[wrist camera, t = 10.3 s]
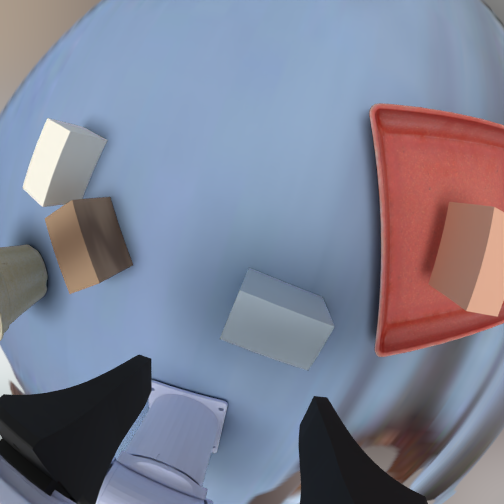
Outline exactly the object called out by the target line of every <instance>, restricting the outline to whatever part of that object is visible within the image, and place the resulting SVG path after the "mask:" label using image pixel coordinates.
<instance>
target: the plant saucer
mask: <svg viewBox="0 0 504 504" xmlns="http://www.w3.org/2000/svg"><path fill="white" fill-rule="evenodd" d="M369 116H370V122H371V128H372V135H373V142H374V149H375V157H376V166H377V175H378V187H379V200H380V220H381V275H380V296H379V311H378V323H377V332H376V340H375V353H376V355H377V356H379V357H386V356H391V355H395V354H400V353H406V352H411V351H414V350H418V349H423V348H427V347H430V346H434V345H439V344H442V343H446V342H448V341H452V340H456V339H460V338H462V337H465V336H469V335H472V334H475V333H478V332H481V331H484V330H486V329H489V328H493V327H495V326H497V325H500V324H503V323H504V301H503V304H502V306H501V309H500V312H499V314H498V317H497V316H491V315H485V314H480V313H474V312H469V311H466V310H464V309H463V308H461V307H460V306H459V305H457V304H456V303H455V302H453V301H452V300H450V299H449V298H447V297H446V296H445V295H443V294H442V293H440V292H439V291H437V290H436V289H435V288H433V287H432V286H430V285H429V284H428V283H429V280H430V277H431V274H432V271H433V268H434V264H435V261H436V257H437V254H438V250H439V246H440V242H441V238H442V234H443V230H444V225H445V221H446V216H447V211H448V206H449V202H456V203H466V204H475V205H483V206H492V207H496V208H497V209H499V210H501V211H503V212H504V125H501V124H498V123H494V122H490V121H487V120H484V119H480V118H475V117H471V116H466V115H462V114H456V113H453V112H446V111H441V110H434V109H427V108H422V107H412V106H404V105H395V104H381V103H379V104H374V105H373V106H372V107H371V109H370V111H369Z"/></svg>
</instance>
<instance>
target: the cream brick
mask: <svg viewBox="0 0 504 504" xmlns="http://www.w3.org/2000/svg"><path fill="white" fill-rule="evenodd" d="M106 142H107V140H106V139H104V138H103V137H101V136H99V135H97V134H95V133H93V132H92V131H90V130H88V129H86V128H84V127H81V126H77V125H73V124H69V123H66V122H61V121H57V120H53V119H49V118H47V121H46V123H45V125H44V128H43V130H42V132H41V135H40V137H39V140H38V142H37V145H36V148H35V150H34V153H33V156H32V159H31V162H30V165H29V168H28V171H27V174H26V177H25V181H24V184H23V189H24V190H25V191H26V192H27V193H28V194H29V195H30V196H31V197H32V198H34V199H35V200H36V201H37V202H38V203H39V204H40V205H41V206H42V207H46V206H54V205H63V204H67V203H68V202H70V201H71V200H76V199H82V198H83V195H84V193H85V190H86V188H87V185H88V183H89V180H90V178H91V175H92V173H93V171H94V168H95V166H96V164H97V162H98V159H99V157H100V155H101V153H102V151H103V149H104V147H105V145H106Z"/></svg>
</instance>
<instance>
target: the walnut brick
mask: <svg viewBox="0 0 504 504" xmlns="http://www.w3.org/2000/svg"><path fill="white" fill-rule="evenodd" d="M45 221H46V225H47V229H48V232H49V236H50V239H51V243H52V246H53V249H54V252H55V255H56V258H57V261H58V264H59V267H60V270H61V272H62V275H63V278H64V280H65V283H66V286H67V288H68V291H69V293H70V294H71V293H74V292H77V291H79V290H82V289H85V288H87V287H90V286H93V285H96V284H98V283H101V282H102V281H104V280H106V279H108V278H110V277H112V276H114V275H115V274H117V273H119V272H121V271H123V270H125V269H127V268H129V267H130V266H132V265H133V263H132V260H131V258H130V255H129V252H128V250H127V247H126V244H125V241H124V238H123V235H122V232H121V230H120V227H119V223H118V220H117V217H116V214H115V211H114V208H113V204H112V201H111V198H110V197H103V198H89V199H76V200H71V201H70V202H68V203H67V204H65V205H64V206H62V207H61V208H59V209H58V210H56V211H55V212H53V213H52V214H51V215H49V216H48V217H46V218H45Z"/></svg>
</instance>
